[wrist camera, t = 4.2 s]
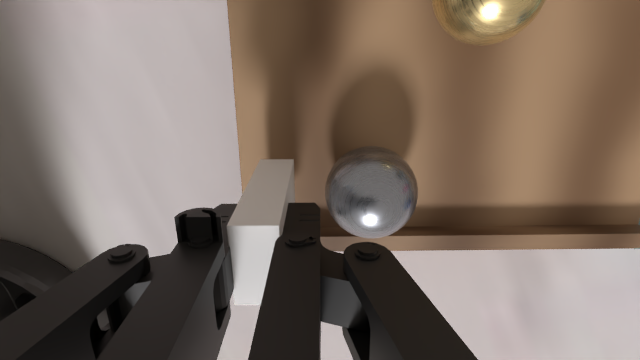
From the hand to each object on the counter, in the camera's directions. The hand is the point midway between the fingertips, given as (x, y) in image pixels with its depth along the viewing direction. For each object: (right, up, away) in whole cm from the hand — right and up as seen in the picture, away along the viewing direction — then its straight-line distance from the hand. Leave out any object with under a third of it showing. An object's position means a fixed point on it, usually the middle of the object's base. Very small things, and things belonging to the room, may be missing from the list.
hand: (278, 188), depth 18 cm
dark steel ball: (+4, 0, -1) cm, 4 cm away
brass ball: (+8, +7, -3) cm, 11 cm away
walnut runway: (+8, +5, +3) cm, 10 cm away
